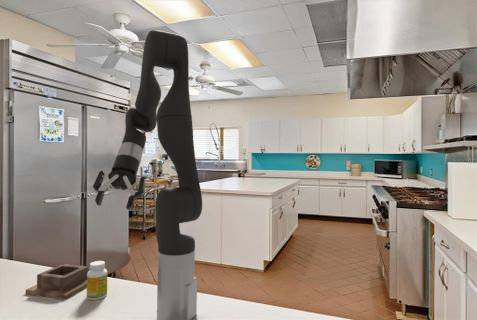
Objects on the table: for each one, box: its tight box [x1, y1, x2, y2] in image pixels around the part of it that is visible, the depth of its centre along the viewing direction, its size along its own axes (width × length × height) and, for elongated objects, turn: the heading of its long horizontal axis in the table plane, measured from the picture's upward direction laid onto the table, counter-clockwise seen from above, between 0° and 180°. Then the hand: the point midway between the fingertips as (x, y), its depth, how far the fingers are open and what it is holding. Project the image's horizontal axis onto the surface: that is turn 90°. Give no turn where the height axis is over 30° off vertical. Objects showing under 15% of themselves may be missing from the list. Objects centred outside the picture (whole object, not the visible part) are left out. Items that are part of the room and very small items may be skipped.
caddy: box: [25, 263, 89, 300], centre depth 91 cm, size 14×13×5 cm
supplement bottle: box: [86, 260, 108, 301], centre depth 85 cm, size 5×5×10 cm
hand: (113, 206), depth 86 cm, fingers open, 8 cm apart
